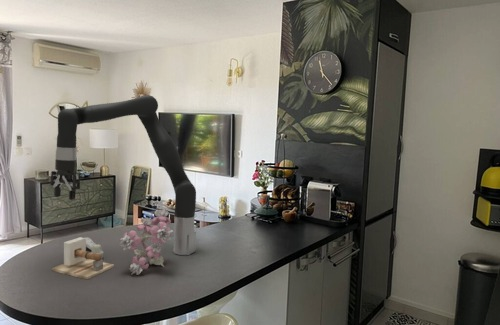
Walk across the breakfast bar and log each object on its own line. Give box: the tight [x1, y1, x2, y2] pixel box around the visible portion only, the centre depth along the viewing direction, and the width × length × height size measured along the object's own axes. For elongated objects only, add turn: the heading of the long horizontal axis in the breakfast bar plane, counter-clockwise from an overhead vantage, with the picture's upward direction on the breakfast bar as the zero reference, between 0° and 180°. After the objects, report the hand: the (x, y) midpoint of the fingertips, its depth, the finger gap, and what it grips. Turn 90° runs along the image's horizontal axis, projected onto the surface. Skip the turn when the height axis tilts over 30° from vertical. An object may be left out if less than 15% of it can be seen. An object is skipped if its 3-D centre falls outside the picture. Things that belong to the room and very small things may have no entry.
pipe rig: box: [51, 249, 115, 280], centre depth 145 cm, size 18×14×7 cm
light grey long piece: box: [83, 236, 104, 260], centre depth 164 cm, size 5×7×25 cm
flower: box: [118, 208, 174, 275], centre depth 148 cm, size 20×22×25 cm
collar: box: [63, 236, 87, 266], centre depth 146 cm, size 3×8×9 cm, turn 159°
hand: (64, 198), depth 148 cm, fingers open, 8 cm apart
